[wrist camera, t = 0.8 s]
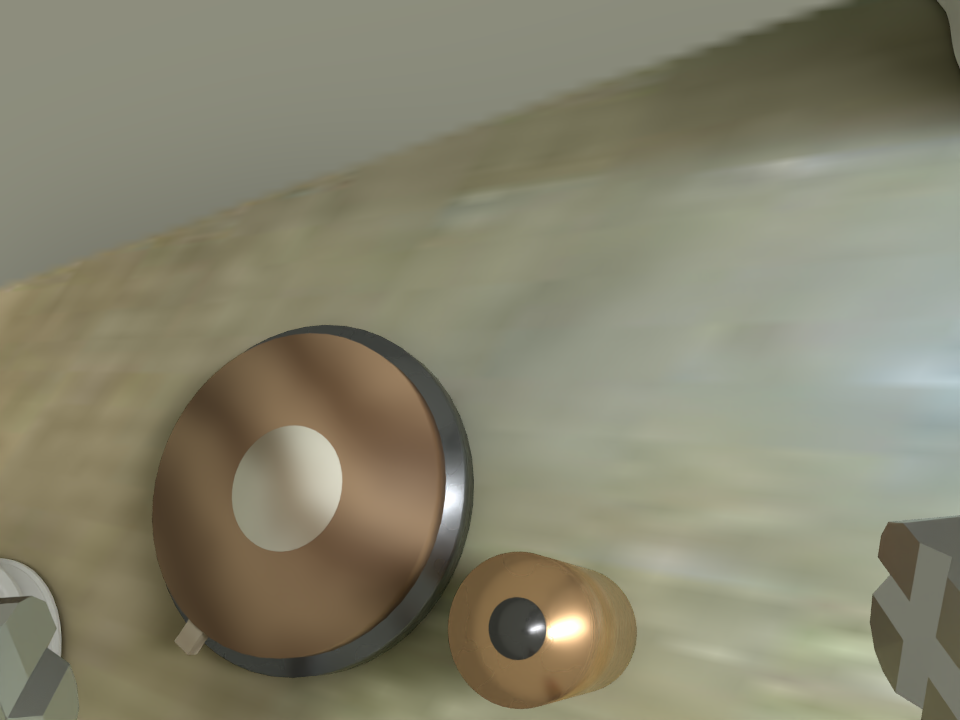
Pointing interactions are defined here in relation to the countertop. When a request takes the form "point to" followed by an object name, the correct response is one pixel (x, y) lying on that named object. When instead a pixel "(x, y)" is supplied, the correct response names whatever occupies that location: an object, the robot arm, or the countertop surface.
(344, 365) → the turntable
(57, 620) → the lid
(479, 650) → the canister
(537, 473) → the countertop surface
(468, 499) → the turntable base
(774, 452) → the countertop surface
